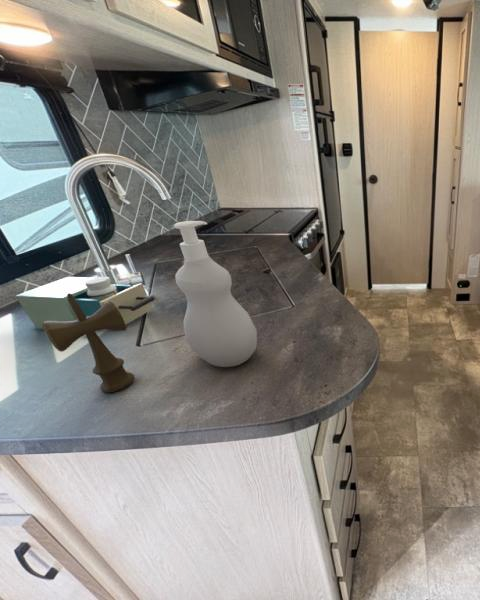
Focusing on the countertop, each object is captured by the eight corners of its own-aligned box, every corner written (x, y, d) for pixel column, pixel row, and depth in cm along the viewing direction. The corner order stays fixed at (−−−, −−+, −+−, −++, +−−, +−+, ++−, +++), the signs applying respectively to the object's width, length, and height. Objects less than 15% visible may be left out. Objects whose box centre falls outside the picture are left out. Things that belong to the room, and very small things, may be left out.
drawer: (168, 309, 87) (157, 284, 84) (133, 330, 78) (120, 302, 74) (114, 306, 89) (101, 281, 86) (74, 326, 80) (58, 299, 76)
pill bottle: (105, 311, 85) (88, 277, 80) (130, 307, 86) (115, 274, 82) (95, 321, 80) (76, 286, 75) (122, 317, 82) (105, 282, 77)
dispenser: (124, 309, 90) (110, 278, 86) (81, 331, 79) (62, 297, 75) (84, 306, 92) (67, 276, 87) (36, 328, 81) (15, 295, 77)
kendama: (153, 377, 63) (110, 287, 54) (91, 407, 56) (29, 309, 47) (143, 366, 66) (100, 279, 57) (83, 392, 60) (24, 299, 50)
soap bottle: (276, 352, 70) (245, 220, 57) (231, 384, 61) (180, 236, 48) (227, 334, 77) (188, 213, 64) (179, 360, 68) (123, 225, 55)
